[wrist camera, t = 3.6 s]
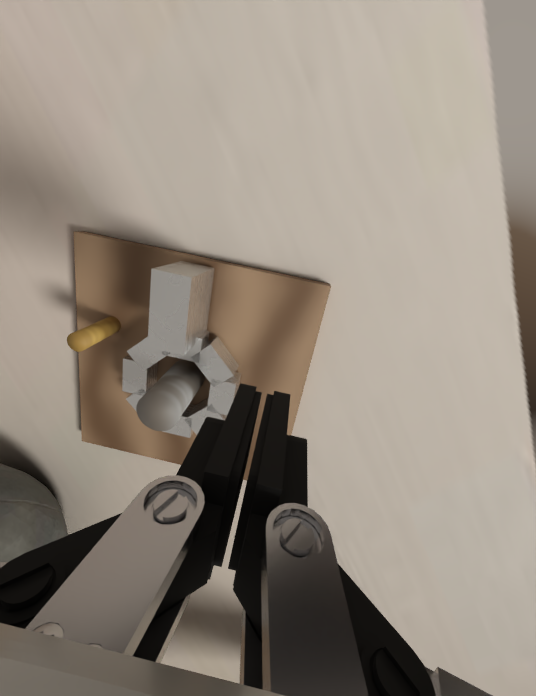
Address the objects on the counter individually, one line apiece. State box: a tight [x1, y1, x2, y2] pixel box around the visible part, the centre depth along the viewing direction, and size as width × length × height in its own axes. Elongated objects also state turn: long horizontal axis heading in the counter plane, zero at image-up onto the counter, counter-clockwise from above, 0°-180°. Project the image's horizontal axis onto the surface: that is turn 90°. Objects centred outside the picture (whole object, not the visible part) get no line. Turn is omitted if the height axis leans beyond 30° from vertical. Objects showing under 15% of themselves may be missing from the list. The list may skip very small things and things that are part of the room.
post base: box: [67, 231, 331, 480], centre depth 25 cm, size 20×20×7 cm
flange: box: [122, 261, 241, 438], centre depth 24 cm, size 9×14×5 cm, turn 169°
